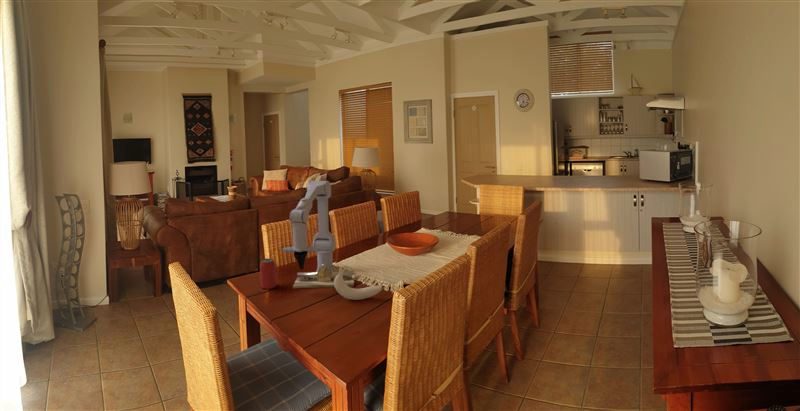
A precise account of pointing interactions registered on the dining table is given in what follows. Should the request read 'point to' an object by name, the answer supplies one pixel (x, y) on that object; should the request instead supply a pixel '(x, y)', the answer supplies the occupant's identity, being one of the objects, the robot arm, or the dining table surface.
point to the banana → (351, 292)
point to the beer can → (268, 273)
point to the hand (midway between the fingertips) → (301, 268)
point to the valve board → (321, 283)
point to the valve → (327, 275)
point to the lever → (322, 269)
